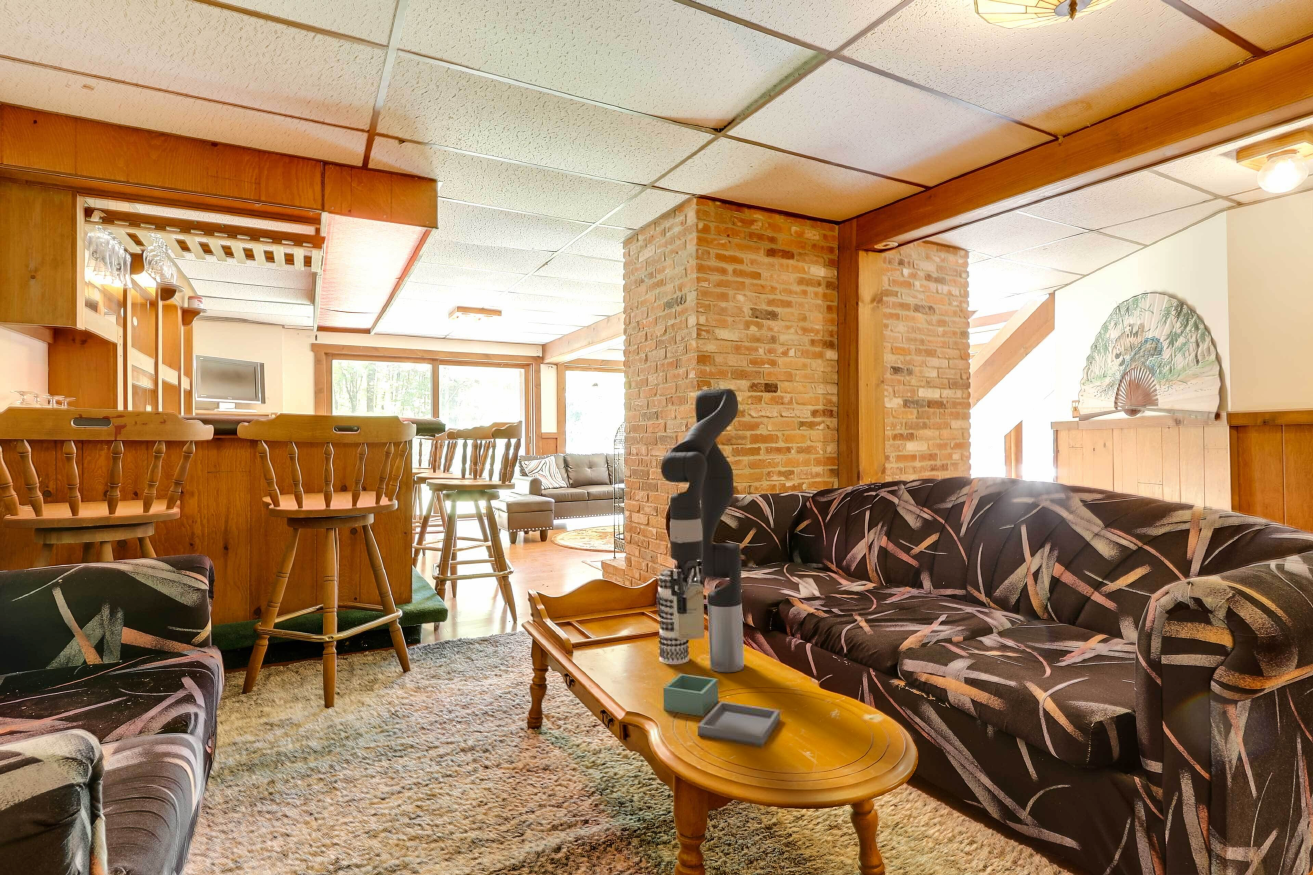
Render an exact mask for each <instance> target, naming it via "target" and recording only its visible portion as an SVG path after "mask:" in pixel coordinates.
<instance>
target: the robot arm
mask: <svg viewBox="0 0 1313 875" xmlns="http://www.w3.org/2000/svg"><path fill="white" fill-rule="evenodd" d="M737 396H738V395H737V394H736V392H735V391H734V390H733V389H731V388H715V389H702V390H701V389H700V390H699V391H698V392H697V393H696V397H695V404H694V405H695V406H694V407H695V418H696V423H695V424H693V426H691V428H690V429H689V430H688V431H687V433H686V434H685V436H684V437H683V439H682V441H680V442H679V443H678V444H676V445H675V446H673V447H672V448H671V449H669V450H668V452H666V454H665V455H664V456H663V458H662V459H661V464H660V472H661V476H662V477H663V478H664V480H666V481H667V482H669V483H674V484H675V483H688V486H687V489H686V490H685V491H681V492H675V493H674V494H672V495H671V496H670V499H669V510H670V513H669V514H670V515H669V516H670V524H669V541H670V542H669V545H670V546H669V547H670V558H671V559H672V560H674V561H676V568H670V569H671V571H670V578H671V595H672V596H675V597H677V613H678V614H686V613H687V597H686V595H687V590H688V588H690V585H691V583H700V584H702V585H703V586H704V577H705V578H709V579H729V581H728V582H727V583H725V585H723V586H720V587H718V588H714V589H713V590H710V591H709V592H708V593H707V616H708V617H707V618H708V619H707V620H708V621H707V622H708V623H707V624H708V649H709V652H708V653H709V655H708V656H709V657H708V658H709V668H710V669H711V670H712V671H715V672H717V673H718V672H719V673H735V672H740V671H742V670H743V669H744V668H745V663H744V662H745V660H744V659H745V658H744V656H745V654H744V652H745V651H744V629H743V627H744V626H743V625H744V624H743V598H742V551H741V548H740V546H739V544H737V543H721V542H719V543H714V536H715V531H716V529H717V527H718V524H719V523H720V520H721V519H722V517H723V515H724V514H725V512H726V510H727V509H728V507H729V506H730V504H731V503H732V502H731V501H732V500H733V498H734V494H735V489H734V485H735V484H734V471H733V468H732V466H731V465H732V464H730V462H729V460H728V459H727V457H726V455H724V453H723V452H722V450H721V448H720V447H719V445H718V444H717V441H716V440H717V439H718V438H719V437H720V435H722V433H723V432H725V430H726V429H727V428H728V427H729V426H730V425H731V424H732V423H733V422H734V421H735V419H736V418H737V415H738V412H739V399H738V397H737ZM675 586H676V589H675ZM683 588H684V590H683Z"/></svg>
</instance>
